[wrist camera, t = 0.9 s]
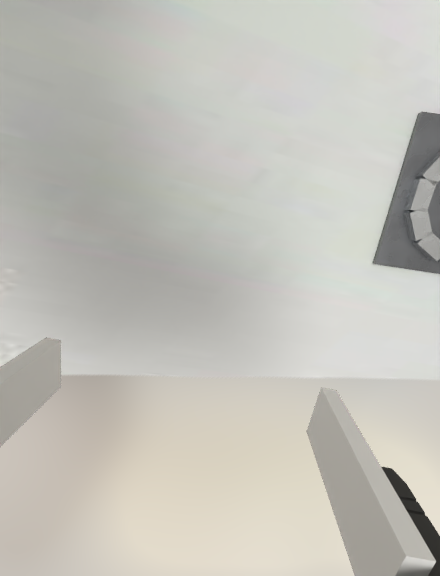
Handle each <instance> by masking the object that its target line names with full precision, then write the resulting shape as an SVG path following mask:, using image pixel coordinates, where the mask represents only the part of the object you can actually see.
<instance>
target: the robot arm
mask: <svg viewBox="0 0 440 576" xmlns="http://www.w3.org/2000/svg"><path fill="white" fill-rule="evenodd" d="M60 387H61V340H56V339H51V338H45V339H43V340H41V341H40V342H38V343H37V344H35V345H34V346H32V347H31V348H29V349H28V350H26V351H25V352H23V353H21V354H20V355H18V356H17V357H15V358H14V359H12V360H11V361H9V362H8V363H6V364H5V365H3V366H1V367H0V447H1V446H2V445H3V444H4V443H5V442H6V441H7V440H8V439H9V438H10V437H11V436H12V435H13V434H14V433H15V432H16V431H17V430H18V429H19V428H20V427H21V426H22V425H23V424H24V423H25V422H26V421H27V420H28V419H29V418H30V417H31V416H32V415H33V414H34V413H35V412H36V411H37V410H38V409H39V408H40V407H41V406H42V405H43V404H44V403H45V402H46V401H47V400H48V399H49V398H50V397H51V396H52V395H53V394H54V393H55V392H56V391H57V390H58V389H59V388H60ZM307 434H308V437H309V440H310V443H311V446H312V449H313V452H314V455H315V458H316V461H317V464H318V467H319V470H320V473H321V476H322V479H323V482H324V485H325V488H326V491H327V494H328V497H329V500H330V503H331V506H332V509H333V512H334V515H335V518H336V521H337V524H338V527H339V530H340V533H341V536H342V539H343V542H344V545H345V548H346V551H347V554H348V556H349V560H350V563H351V566H352V569H353V572H354V575H355V576H440V536H439V535H438V533H437V531H436V530H435V528H434V526H433V525H432V523H431V522H430V520H429V519H428V517H427V516H425V513H424V511H423V509H422V508H421V506H420V505H419V503H418V502H416V498H415V497H414V495H413V494H412V492H411V490H410V489H409V487H408V486H407V484H406V483H405V482H404V481H403V480H402V479H401V478H400V477H399V476H398V475H397V474H396V472H395V471H394V470H392V469H391V468H385V467H381V466H380V464H379V462H378V461H377V459H376V457H375V456H374V454H373V452H372V450H371V449H370V447H369V445H368V444H367V442H366V440H365V438H364V437H363V435H362V433H361V431H360V430H359V428H358V426H357V425H356V423H355V421H354V419H353V418H352V416H351V414H350V413H349V411H348V409H347V408H346V406H345V404H344V403H343V401H342V399H341V397H340V395H339V394H338V392H337V390H333V389H327V388H321V390H320V392H319V396H318V399H317V402H316V405H315V408H314V411H313V414H312V417H311V420H310V423H309V426H308V429H307Z"/></svg>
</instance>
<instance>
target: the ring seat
mask: <svg viewBox="0 0 440 576" xmlns="http://www.w3.org/2000/svg"><path fill="white" fill-rule="evenodd" d="M373 263H374V264H379V265H386V266H392V267H399V268H406V269H412V270H419V271H426V272H432V273H439V274H440V114H435V113H428V112H421V113H419V114H418V117H417V120H416V124H415V127H414V130H413V133H412V137H411V140H410V143H409V147H408V150H407V153H406V156H405V160H404V163H403V166H402V170H401V173H400V176H399V179H398V183H397V186H396V189H395V193H394V196H393V199H392V202H391V206H390V209H389V212H388V215H387V219H386V222H385V225H384V229H383V232H382V235H381V238H380V242H379V245H378V248H377V252H376V255H375V258H374V261H373Z"/></svg>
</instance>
